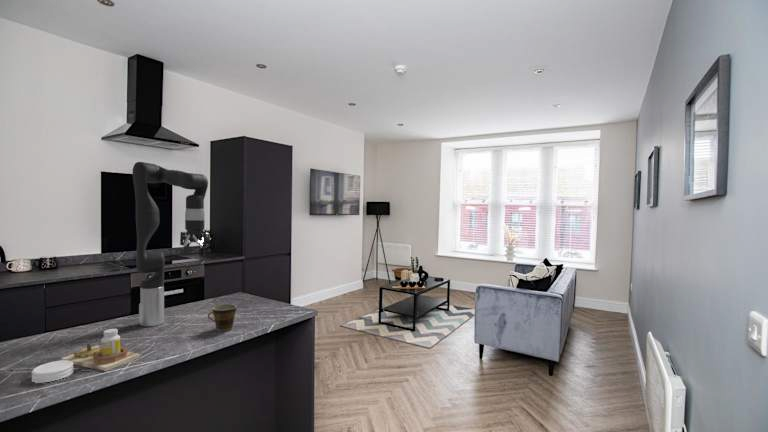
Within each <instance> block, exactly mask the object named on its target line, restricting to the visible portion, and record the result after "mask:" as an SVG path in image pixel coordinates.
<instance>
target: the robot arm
mask: <svg viewBox="0 0 768 432" xmlns="http://www.w3.org/2000/svg"><path fill="white" fill-rule="evenodd" d="M132 180H133V181H132V182H133V183H132V184H133V188H134V197H135V228H136V261H135V263H136V270H137V272H138V274H147V273H148V274H149V273H154V274H152V275H151V276H150V277H148V278H146V279H144V280H141V282H140V286H139V287H140V294H139V295H140V303H139V304H138V325H140V326H141V327H155V326H160V325H162V324H163V323H165V267H166V266H165V265H166V264H165V263H166V259H165V254H164V252H163V251H152V252H151V251H149V252H146V249H147V245H148V243H149V241H150V239H151V238H152V236H153V235H154V233H155V232H156V231H157V229H158V227H159V225H160V209H159V206H158V205H157V204H156V201H154V199H153V198H152V196H151V194H150V192H149V189H148V184H159V183H166V184H168V185H170V186H174V187H177V188H182V189H185V190H194V191H193V194H190V195H186V197H185V214H184V215H185V216H184V217H185V218H184V222H185V223H184V224H185V227H184V228H185V230H186V231H181V232H180V237H179V245H180V246H182V247H184V248H183V250H184V252H183V254H184V255H185V256H190V255H191V245H192V244H193V243H196V244H197V245H198V246H199V247H200V248H199V257H205V256H206V255H207V254H206V252H207V251H206V250H207V249H206V248H208V247H210V246H211V240H210V239H211V237H210V236H211V235H210V232H204V230H205V209H204V208H205V207H204V205H205V198H206V197H205V196H206V193H207V190H208V187H209V186H208V185H209V180H208V178H207V176H205V175H204V174H201V173H193V172H192V173H190V172H186V171H182V170H177V169H167V168H164V167H162V166H160V165H157V164H155V163H150V162H149V163H148V162H144V161H137V162H135V163H134V164H133V168H132Z"/></svg>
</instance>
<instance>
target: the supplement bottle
mask: <svg viewBox="0 0 768 432" xmlns="http://www.w3.org/2000/svg"><path fill="white" fill-rule="evenodd" d="M118 331H119V330H118V328H109V329H108V328H107V329H106V330H103V337H102V338H101V340H100V341H101V342H100V343H101V344H100V346H101V356H102V357H107V356H114V355H117V354H119V353H120V347H121V336H120V335H119V334H118V333H119V332H118Z"/></svg>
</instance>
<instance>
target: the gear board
mask: <svg viewBox="0 0 768 432" xmlns="http://www.w3.org/2000/svg"><path fill="white" fill-rule="evenodd" d="M128 350H129V348H128V347H122V346H120V353H119V354H117V355H114V356H107V357H102V356H101V345H95V346H94V345H93V346H92V343H91V342H89V343H86V347H85V348H84V347H83V348H79V350H78V351H74V352H73V353H72V354H69V355H66V356H63V357H61V358H60V360H69V361H72V362H73V365H76V366H80V367H84V368H90V369H93V370H98V371H102V370H103V371H104V372H108V371H110V370H112V369H115V368H117V367H119V366H123V365H124V364H126V363H128V362H131V361H134V360H137V359H138V358H139V359H140V357H141V356H140V355H141V354H140V353H138V352H137V353H136V352H133V351H128ZM103 371H102V372H103Z"/></svg>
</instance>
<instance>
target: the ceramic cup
mask: <svg viewBox="0 0 768 432" xmlns="http://www.w3.org/2000/svg"><path fill="white" fill-rule="evenodd" d="M211 309H212V311H210V312H209V313H208V314H207V317H208V319H209V320H211V321H212V322H214V324H215V331H217V332H221V333H222V332H229V331H232V330H233V328H234V322H235V319H236V318H235V317H236V313H237V309H238V306H237V305H236V304H232V303H226V304H225V303H224V304H218V305H216V306H213V307H212V308H211ZM211 314H212V315H213V318H211V317H210V316H211Z"/></svg>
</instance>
